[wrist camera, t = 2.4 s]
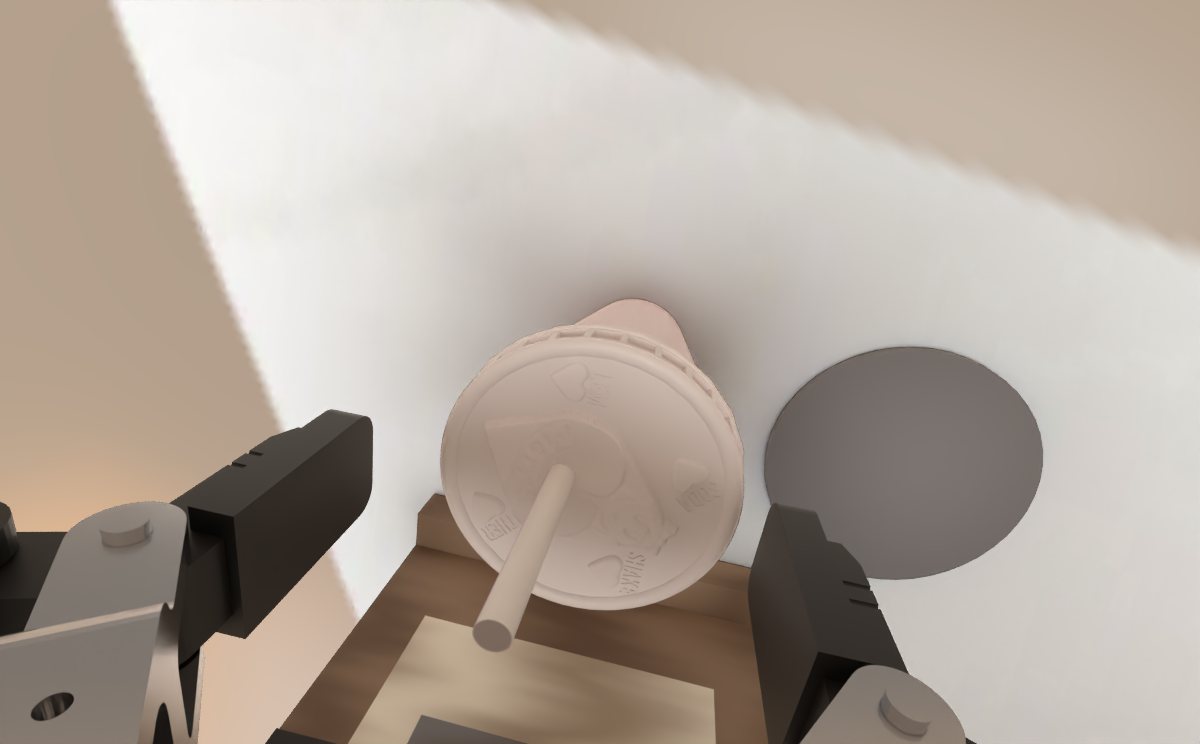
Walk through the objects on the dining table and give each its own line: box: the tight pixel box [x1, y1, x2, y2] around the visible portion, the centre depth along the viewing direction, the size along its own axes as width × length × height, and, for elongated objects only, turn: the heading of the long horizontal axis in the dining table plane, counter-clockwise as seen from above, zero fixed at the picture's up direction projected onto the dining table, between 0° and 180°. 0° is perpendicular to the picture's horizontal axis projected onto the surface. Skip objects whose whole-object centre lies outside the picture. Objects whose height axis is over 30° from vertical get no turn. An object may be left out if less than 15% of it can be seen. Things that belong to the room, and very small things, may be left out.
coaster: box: [765, 347, 1043, 580], centre depth 20 cm, size 9×9×1 cm
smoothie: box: [440, 299, 744, 653], centre depth 14 cm, size 6×6×14 cm
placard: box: [280, 494, 768, 744], centre depth 18 cm, size 14×4×12 cm, turn 80°
